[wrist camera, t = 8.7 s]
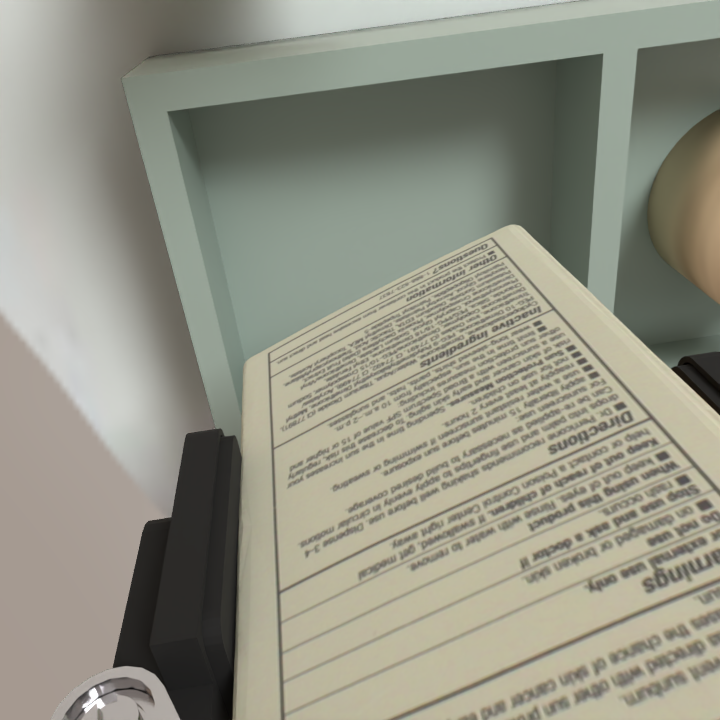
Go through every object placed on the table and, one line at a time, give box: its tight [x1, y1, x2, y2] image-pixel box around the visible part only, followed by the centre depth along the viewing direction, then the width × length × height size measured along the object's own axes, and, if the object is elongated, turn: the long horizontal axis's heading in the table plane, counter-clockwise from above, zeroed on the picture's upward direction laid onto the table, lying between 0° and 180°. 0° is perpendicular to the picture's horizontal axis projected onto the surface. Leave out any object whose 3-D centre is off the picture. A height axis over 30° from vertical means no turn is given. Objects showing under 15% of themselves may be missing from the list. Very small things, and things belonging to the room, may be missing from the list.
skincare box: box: [232, 225, 720, 720], centre depth 9 cm, size 6×4×12 cm
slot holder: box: [121, 0, 720, 452], centre depth 20 cm, size 22×12×4 cm, turn 96°
